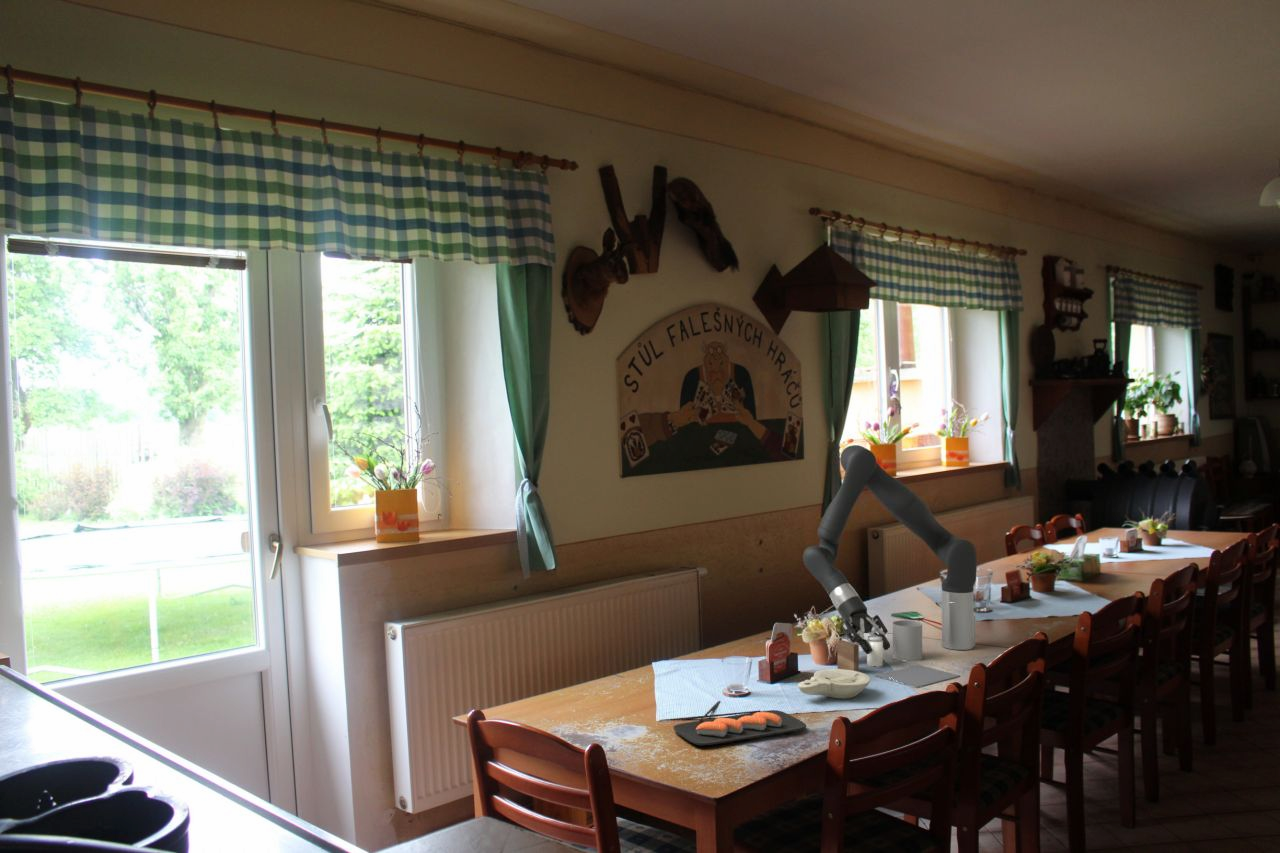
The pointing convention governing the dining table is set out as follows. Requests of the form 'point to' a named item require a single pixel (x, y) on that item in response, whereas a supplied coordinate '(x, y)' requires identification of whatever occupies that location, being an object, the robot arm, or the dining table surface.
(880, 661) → the sugar shaker
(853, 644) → the brown flat rectangular block
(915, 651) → the cup
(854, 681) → the oil lamp
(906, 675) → the felt mat
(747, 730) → the sushi plate
